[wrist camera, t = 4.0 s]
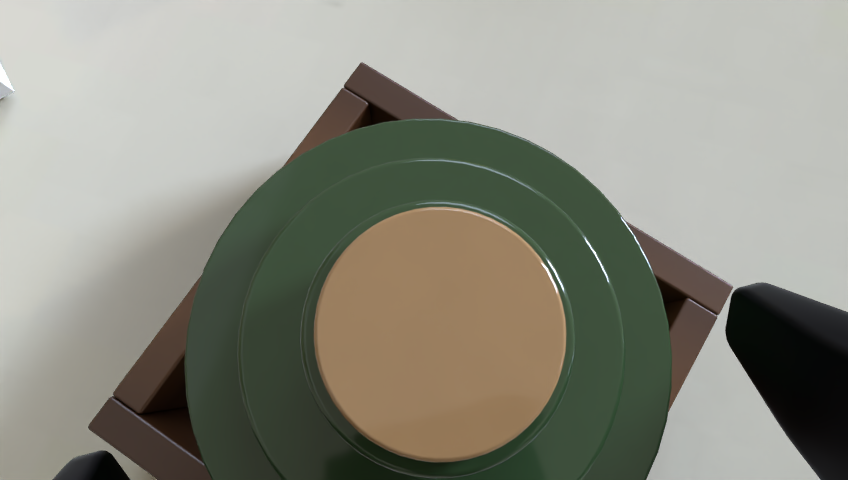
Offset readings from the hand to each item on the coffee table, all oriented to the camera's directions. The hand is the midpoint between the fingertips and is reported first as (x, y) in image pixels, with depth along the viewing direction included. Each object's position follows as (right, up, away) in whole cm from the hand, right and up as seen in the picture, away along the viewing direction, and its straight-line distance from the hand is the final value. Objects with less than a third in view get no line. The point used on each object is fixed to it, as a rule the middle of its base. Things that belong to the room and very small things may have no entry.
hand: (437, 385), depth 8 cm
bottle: (0, -1, +8) cm, 8 cm away
